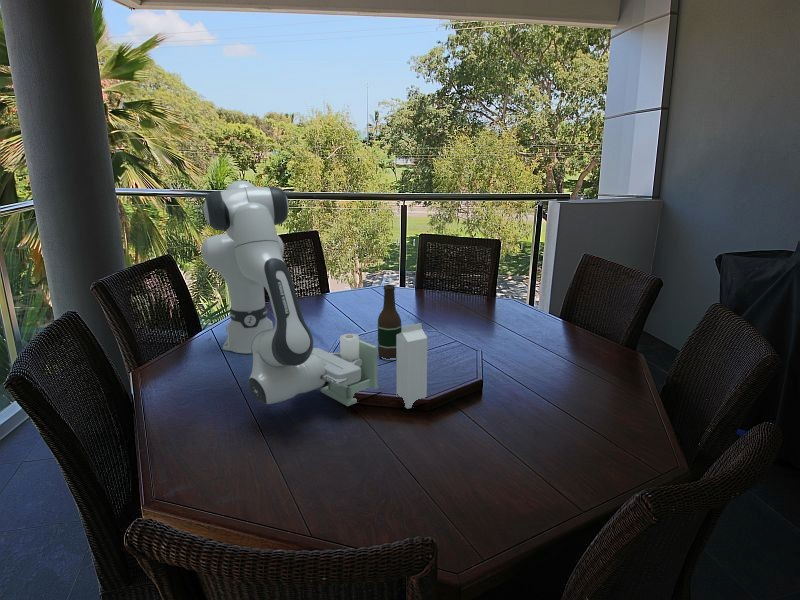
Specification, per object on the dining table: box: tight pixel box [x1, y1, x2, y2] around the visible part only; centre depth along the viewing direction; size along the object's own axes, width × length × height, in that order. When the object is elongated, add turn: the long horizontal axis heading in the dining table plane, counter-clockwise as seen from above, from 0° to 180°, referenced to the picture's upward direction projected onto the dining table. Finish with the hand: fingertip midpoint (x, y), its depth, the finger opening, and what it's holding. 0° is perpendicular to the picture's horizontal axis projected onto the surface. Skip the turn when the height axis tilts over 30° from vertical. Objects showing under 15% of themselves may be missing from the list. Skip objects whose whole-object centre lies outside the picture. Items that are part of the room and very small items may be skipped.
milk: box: [395, 322, 428, 410], centre depth 142 cm, size 6×6×22 cm
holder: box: [320, 339, 379, 407], centre depth 149 cm, size 12×12×14 cm
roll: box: [339, 333, 360, 387], centre depth 148 cm, size 5×5×14 cm
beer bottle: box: [377, 284, 402, 359], centre depth 172 cm, size 8×8×24 cm
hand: (352, 358), depth 148 cm, fingers closed on roll, 5 cm apart
